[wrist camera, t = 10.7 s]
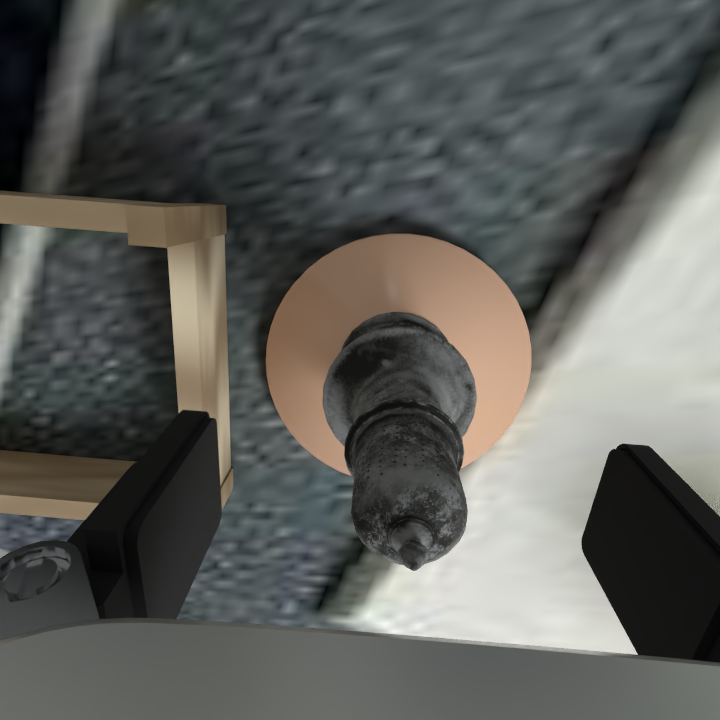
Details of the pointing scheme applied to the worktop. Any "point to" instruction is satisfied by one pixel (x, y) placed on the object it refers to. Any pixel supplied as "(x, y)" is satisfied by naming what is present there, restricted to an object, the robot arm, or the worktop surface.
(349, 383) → the dark chess piece
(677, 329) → the worktop surface
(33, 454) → the frame
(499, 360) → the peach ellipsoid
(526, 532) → the worktop surface
